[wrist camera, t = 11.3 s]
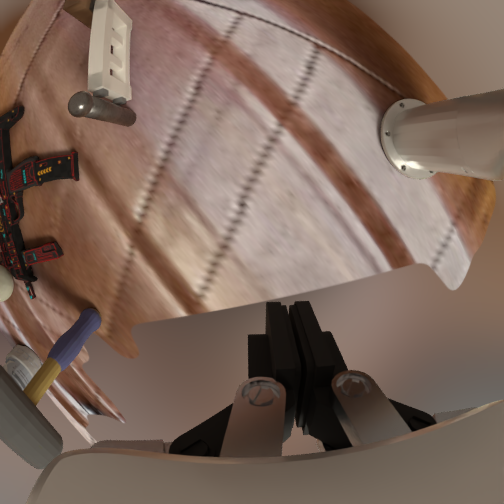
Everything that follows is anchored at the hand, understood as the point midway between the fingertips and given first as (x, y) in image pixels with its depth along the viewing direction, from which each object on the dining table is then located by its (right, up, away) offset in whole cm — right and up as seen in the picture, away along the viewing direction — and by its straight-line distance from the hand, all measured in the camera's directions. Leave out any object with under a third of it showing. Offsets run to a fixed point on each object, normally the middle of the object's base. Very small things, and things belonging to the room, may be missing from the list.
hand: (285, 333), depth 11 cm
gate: (-19, +30, +19) cm, 41 cm away
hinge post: (-19, +22, +23) cm, 37 cm away
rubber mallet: (-29, -8, +33) cm, 44 cm away
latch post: (-23, +37, +18) cm, 47 cm away
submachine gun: (-39, +12, +26) cm, 49 cm away
